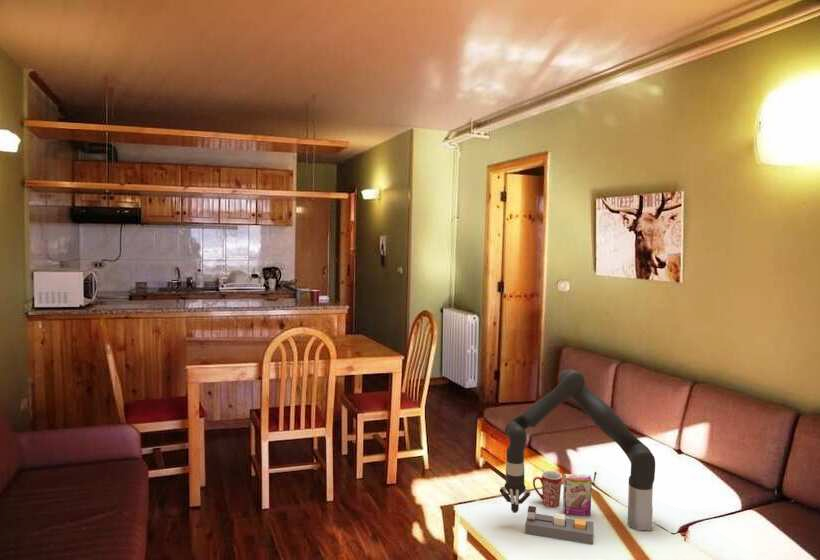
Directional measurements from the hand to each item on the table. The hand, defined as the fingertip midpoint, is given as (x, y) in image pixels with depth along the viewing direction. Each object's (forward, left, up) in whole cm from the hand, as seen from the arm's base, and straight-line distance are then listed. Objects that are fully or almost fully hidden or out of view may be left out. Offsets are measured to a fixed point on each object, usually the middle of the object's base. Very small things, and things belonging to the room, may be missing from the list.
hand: (514, 511), depth 237 cm
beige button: (-18, 0, -2) cm, 18 cm away
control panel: (-18, 0, -6) cm, 19 cm away
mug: (-11, -24, -6) cm, 27 cm away
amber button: (-26, 0, -3) cm, 26 cm away
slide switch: (-7, 0, -4) cm, 8 cm away
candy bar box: (-24, -19, -6) cm, 31 cm away
